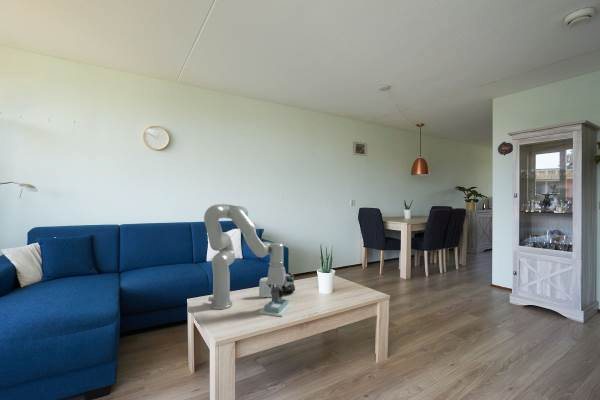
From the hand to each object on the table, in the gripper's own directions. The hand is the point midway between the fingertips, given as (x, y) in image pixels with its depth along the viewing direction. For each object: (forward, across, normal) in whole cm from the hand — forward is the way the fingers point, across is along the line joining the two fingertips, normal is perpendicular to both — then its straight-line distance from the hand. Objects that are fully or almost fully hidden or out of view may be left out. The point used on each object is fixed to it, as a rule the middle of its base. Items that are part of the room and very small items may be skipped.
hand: (277, 295), depth 166 cm
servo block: (+2, 0, 0) cm, 2 cm away
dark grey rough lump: (+8, -7, +29) cm, 31 cm away
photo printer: (+8, -14, +17) cm, 24 cm away
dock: (+8, 0, 0) cm, 8 cm away
